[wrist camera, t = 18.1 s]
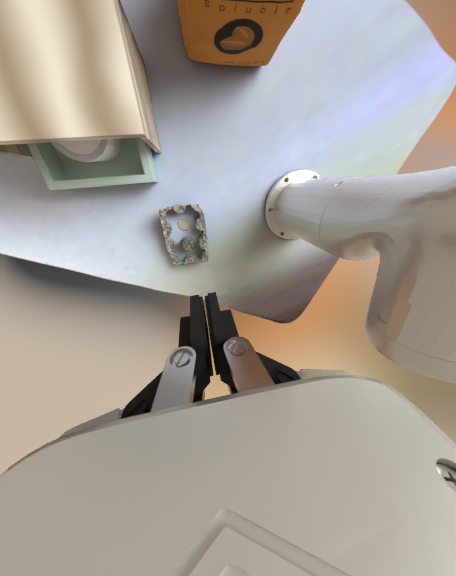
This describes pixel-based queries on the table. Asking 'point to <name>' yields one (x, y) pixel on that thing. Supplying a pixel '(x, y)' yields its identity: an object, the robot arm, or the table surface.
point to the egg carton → (186, 241)
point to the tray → (95, 166)
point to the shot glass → (90, 149)
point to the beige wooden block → (70, 75)
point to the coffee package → (235, 29)
